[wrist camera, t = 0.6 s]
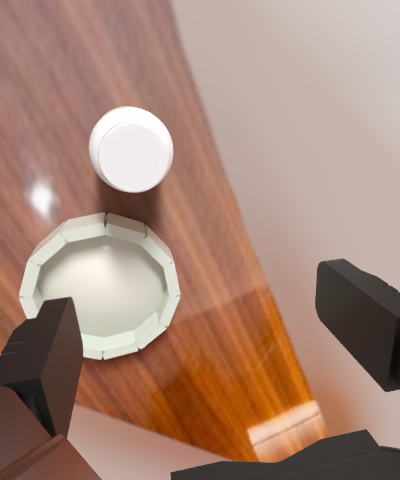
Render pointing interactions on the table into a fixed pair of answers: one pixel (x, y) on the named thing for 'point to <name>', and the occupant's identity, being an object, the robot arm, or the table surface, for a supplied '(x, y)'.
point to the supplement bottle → (130, 149)
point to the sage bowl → (105, 281)
